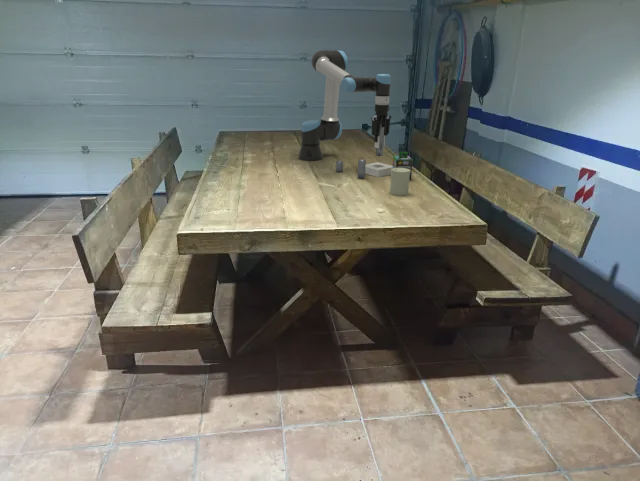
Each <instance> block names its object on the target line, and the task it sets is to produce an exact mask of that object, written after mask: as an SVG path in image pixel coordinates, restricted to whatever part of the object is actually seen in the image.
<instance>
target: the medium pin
mask: <svg viewBox="0 0 640 481" xmlns="http://www.w3.org/2000/svg"><path fill="white" fill-rule="evenodd" d="M357 160H358V161H357V163H358V164H357V179H358V180H365V179H366V174H365V166H366V164H367V162H366V160H367V159H364V158H362V159H361V158H360V159H357Z"/></svg>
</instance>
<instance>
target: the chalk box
mask: <svg viewBox="0 0 640 481" xmlns="http://www.w3.org/2000/svg"><path fill="white" fill-rule="evenodd" d="M408 154H409V152H408V151H399V155H394V156H392V166H393V167H392V169H393V168H407V169H409V170H410V178H409V181H411V180H412V174H413V173H412V172H413V161H414V160H413V158H412V157H411V156H409V155H408Z"/></svg>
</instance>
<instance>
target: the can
mask: <svg viewBox="0 0 640 481" xmlns="http://www.w3.org/2000/svg"><path fill="white" fill-rule="evenodd" d="M409 178H410V170H409V169H407V168H393V169H391V175H390V184H389V185H390V187H389V188H390V189H389V193H390V194H391V195H393V196H407V195H409V189H410V188H409V187H410V186H409V185H410V180H409Z"/></svg>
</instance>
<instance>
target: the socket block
mask: <svg viewBox="0 0 640 481" xmlns="http://www.w3.org/2000/svg"><path fill="white" fill-rule="evenodd" d="M392 167H393V165H390V164H386V163H383V162H379V161H377V162H373V163H366V166H365V175H370V176H373V177H376V178H380V177H385V176H391V169H392Z"/></svg>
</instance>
